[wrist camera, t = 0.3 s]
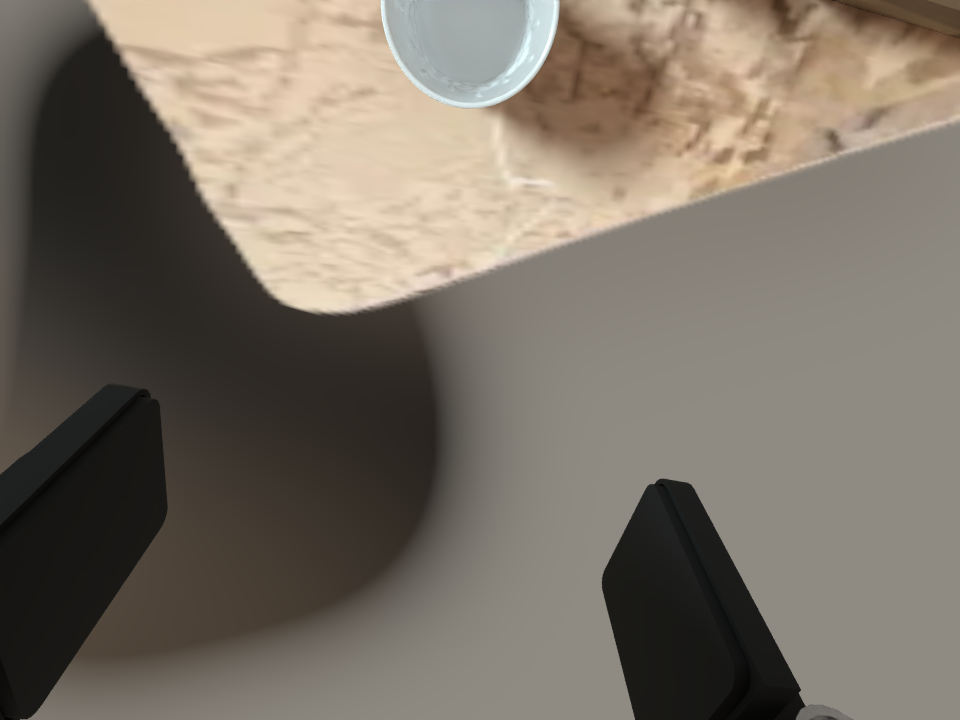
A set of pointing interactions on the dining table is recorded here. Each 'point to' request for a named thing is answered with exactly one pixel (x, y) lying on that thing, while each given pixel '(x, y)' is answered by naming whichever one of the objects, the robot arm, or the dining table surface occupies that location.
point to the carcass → (917, 12)
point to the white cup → (470, 46)
